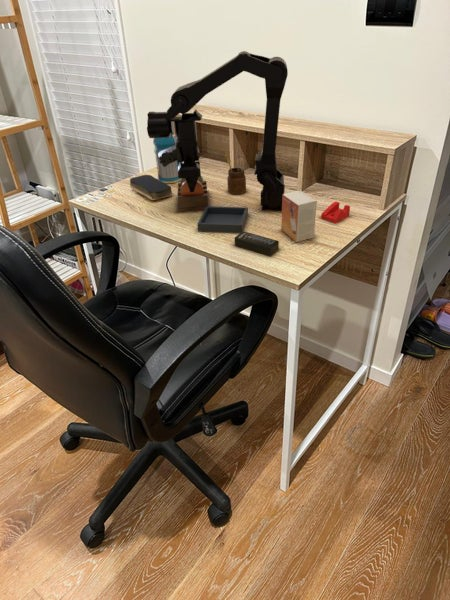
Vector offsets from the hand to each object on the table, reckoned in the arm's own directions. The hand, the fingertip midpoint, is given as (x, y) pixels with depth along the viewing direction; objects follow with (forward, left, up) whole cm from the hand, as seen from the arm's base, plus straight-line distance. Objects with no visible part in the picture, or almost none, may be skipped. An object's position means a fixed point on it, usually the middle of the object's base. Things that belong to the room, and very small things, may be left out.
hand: (192, 190), depth 135 cm
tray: (-11, +10, -6) cm, 16 cm away
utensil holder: (-11, -13, -6) cm, 18 cm away
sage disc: (+2, -7, 0) cm, 7 cm away
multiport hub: (-22, +23, -6) cm, 32 cm away
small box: (-32, +15, -6) cm, 36 cm away
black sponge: (+17, -10, -6) cm, 21 cm away
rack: (+1, -3, -6) cm, 7 cm away
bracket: (-42, +4, -6) cm, 43 cm away
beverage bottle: (+14, -22, -6) cm, 27 cm away
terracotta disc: (0, 0, 0) cm, 0 cm away
